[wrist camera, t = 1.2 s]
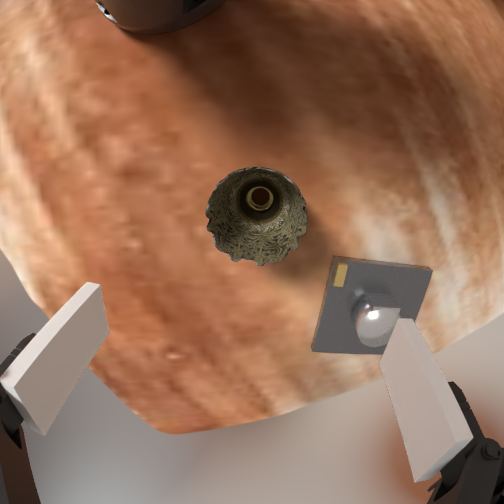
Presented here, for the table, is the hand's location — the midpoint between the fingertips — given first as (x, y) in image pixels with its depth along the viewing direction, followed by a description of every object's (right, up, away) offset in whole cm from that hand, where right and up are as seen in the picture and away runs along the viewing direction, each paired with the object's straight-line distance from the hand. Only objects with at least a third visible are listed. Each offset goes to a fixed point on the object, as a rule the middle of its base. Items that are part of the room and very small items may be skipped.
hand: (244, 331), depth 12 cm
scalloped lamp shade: (+1, +9, +17) cm, 19 cm away
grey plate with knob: (+14, -3, +21) cm, 25 cm away
